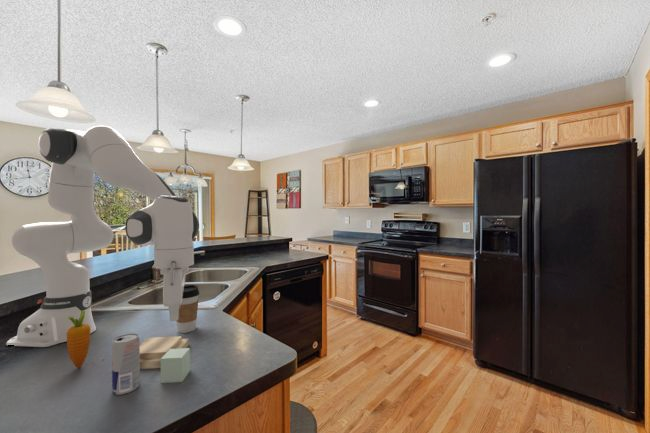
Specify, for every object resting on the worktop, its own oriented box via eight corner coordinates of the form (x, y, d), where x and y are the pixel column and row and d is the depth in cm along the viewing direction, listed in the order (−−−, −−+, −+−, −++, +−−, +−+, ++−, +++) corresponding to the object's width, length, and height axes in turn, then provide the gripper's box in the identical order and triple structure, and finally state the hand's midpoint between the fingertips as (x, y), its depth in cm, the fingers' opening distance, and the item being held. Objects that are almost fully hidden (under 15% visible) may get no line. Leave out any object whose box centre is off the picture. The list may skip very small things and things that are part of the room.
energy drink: (121, 382, 68) (121, 333, 68) (144, 381, 69) (144, 332, 69) (106, 396, 63) (105, 343, 63) (131, 394, 64) (130, 342, 64)
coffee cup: (204, 325, 104) (203, 284, 104) (191, 335, 95) (190, 291, 95) (183, 324, 104) (182, 284, 104) (168, 334, 96) (167, 290, 96)
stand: (118, 370, 74) (118, 357, 74) (145, 347, 87) (145, 335, 87) (169, 367, 75) (169, 354, 75) (189, 344, 88) (188, 333, 88)
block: (160, 383, 68) (160, 358, 68) (170, 371, 73) (170, 348, 73) (182, 381, 69) (181, 357, 68) (190, 370, 74) (189, 347, 73)
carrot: (70, 374, 72) (69, 316, 72) (63, 369, 74) (63, 313, 74) (94, 366, 76) (93, 311, 76) (87, 361, 79) (86, 308, 79)
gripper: (187, 264, 62) (188, 325, 63) (189, 253, 81) (190, 301, 81) (154, 266, 60) (155, 331, 60) (164, 255, 78) (165, 304, 78)
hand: (175, 313), depth 71 cm, fingers open, 8 cm apart
